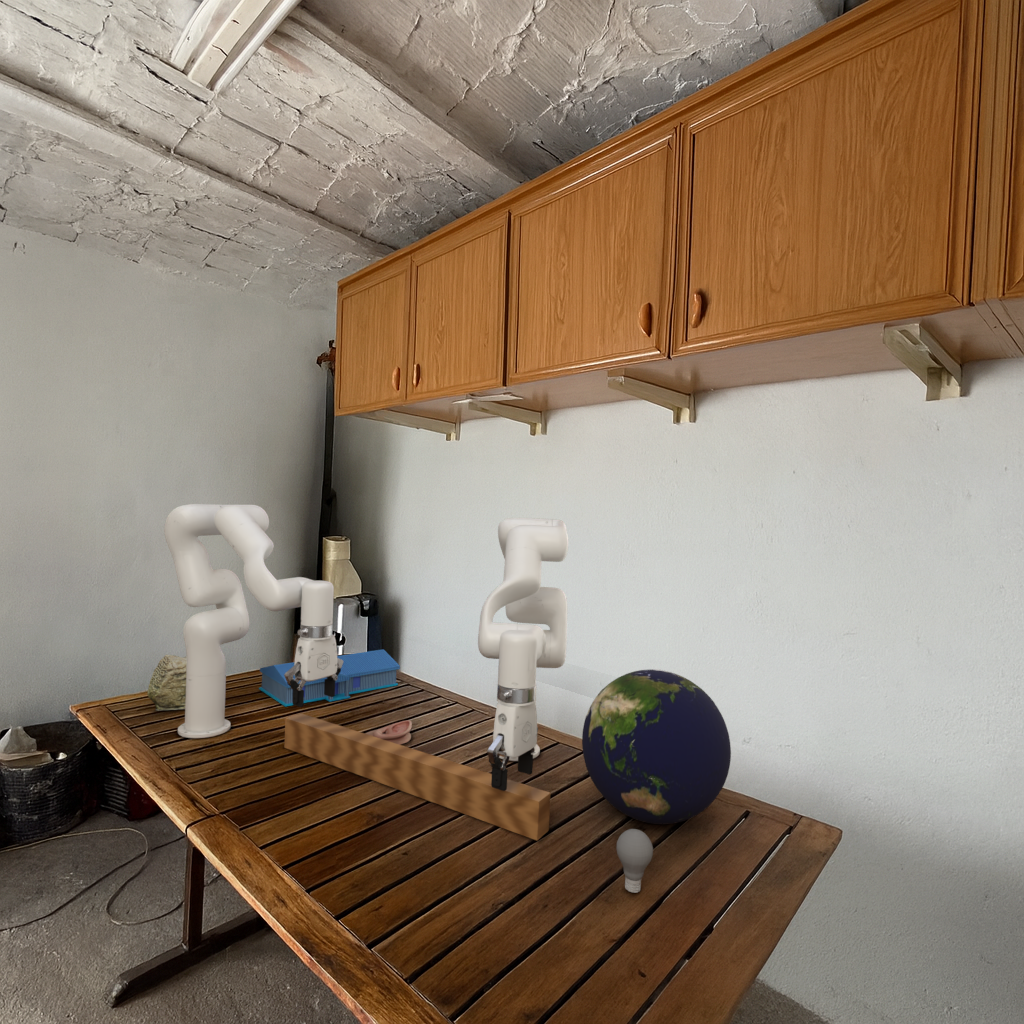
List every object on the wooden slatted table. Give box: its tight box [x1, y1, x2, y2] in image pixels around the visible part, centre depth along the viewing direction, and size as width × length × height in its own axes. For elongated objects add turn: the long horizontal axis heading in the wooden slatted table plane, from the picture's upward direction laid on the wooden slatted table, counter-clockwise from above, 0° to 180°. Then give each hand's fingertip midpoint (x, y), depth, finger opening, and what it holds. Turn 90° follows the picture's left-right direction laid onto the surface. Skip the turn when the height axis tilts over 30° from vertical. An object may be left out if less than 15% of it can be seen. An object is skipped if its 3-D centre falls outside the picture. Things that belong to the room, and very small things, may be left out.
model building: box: [258, 649, 401, 707], centre depth 208 cm, size 39×24×10 cm, turn 132°
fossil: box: [147, 654, 187, 712], centre depth 185 cm, size 9×18×15 cm, turn 132°
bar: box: [284, 712, 552, 841], centre depth 141 cm, size 73×5×8 cm, turn 58°
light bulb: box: [615, 828, 654, 894], centre depth 106 cm, size 6×6×10 cm
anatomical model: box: [364, 719, 413, 745], centre depth 166 cm, size 13×4×12 cm
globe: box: [581, 668, 732, 825], centre depth 131 cm, size 30×30×30 cm
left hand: (314, 700), depth 156 cm, fingers open, 9 cm apart
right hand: (512, 780), depth 125 cm, fingers open, 9 cm apart
